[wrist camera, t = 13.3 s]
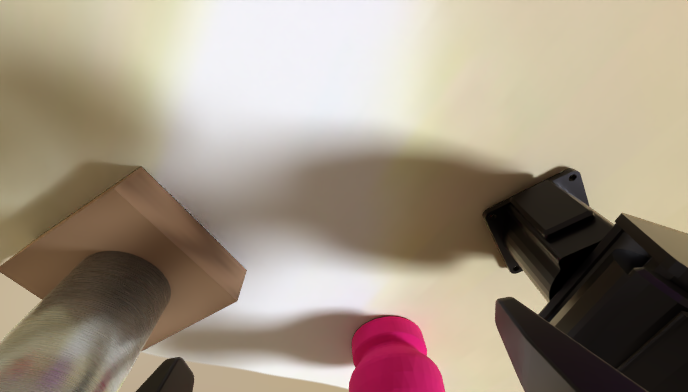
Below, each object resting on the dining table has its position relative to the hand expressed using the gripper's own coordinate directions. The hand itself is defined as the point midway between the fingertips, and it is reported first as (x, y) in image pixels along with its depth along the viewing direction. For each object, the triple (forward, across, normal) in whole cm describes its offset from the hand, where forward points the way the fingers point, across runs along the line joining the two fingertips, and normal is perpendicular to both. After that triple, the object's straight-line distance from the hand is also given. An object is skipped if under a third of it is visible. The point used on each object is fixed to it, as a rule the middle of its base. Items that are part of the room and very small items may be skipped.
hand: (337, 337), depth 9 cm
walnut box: (+13, +14, +4) cm, 20 cm away
